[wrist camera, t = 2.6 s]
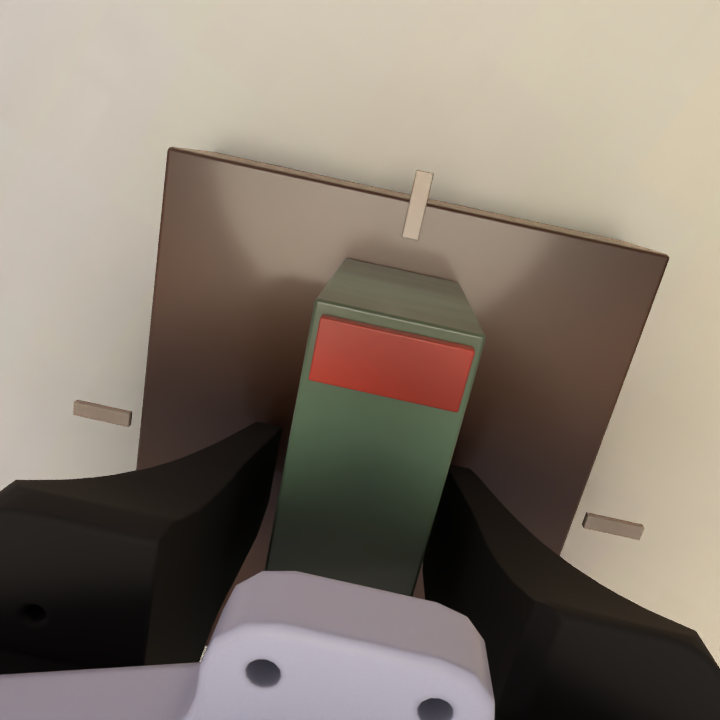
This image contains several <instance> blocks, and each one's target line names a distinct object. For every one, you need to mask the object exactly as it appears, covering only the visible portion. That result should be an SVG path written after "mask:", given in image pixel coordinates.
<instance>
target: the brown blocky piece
mask: <svg viewBox="0 0 720 720" xmlns="http://www.w3.org/2000/svg"><path fill="white" fill-rule="evenodd" d="M432 179H433V173H429V172H424V171H420V170H417V171H416V175H415V179H414V184H413V188H412V193H411V195H409V194H404V193H400V192H395V191H390V190H386V189H381V188H377V187H372V186H367V185H363V184H358V183H354V182H349V181H344V180H340V179H335V178H331V177H326V176H321V175H317V174H312V173H308V172H303V171H298V170H294V169H289V168H285V167H280V166H275V165H271V164H266V163H261V162H257V161H252V160H248V159H243V158H238V157H234V156H229V155H225V154H220V153H215V152H209V151H201V150H192V149H184V148H175V147H171V148H169V149H168V152H167V162H166V172H165V183H164V193H163V203H162V213H161V223H160V234H159V244H158V254H157V264H156V274H155V285H154V295H153V305H152V315H151V326H150V336H149V346H148V356H147V366H146V377H145V387H144V397H143V407H142V417H141V428H140V438H139V448H138V458H137V468H136V470H141V469H146V468H150V467H154V466H157V465H161V464H164V463H167V462H171V461H174V460H177V459H180V458H182V457H185V456H187V455H190V454H192V453H194V452H197V451H199V450H201V449H204V448H206V447H208V446H211V445H213V444H215V443H217V442H219V441H221V440H223V439H225V438H227V437H229V436H231V435H233V434H234V433H236V432H238V431H240V430H242V429H244V428H245V427H247V426H249V425H251V424H253V423H255V422H257V421H258V422H262V423H267V424H271V425H276V426H280V427H282V432H281V438H280V443H279V449H278V454H277V460H276V465H275V471H274V476H273V482H272V488H271V493H270V499H269V503H268V506H267V509H266V512H265V515H264V518H263V521H262V523H261V526H260V529H259V532H258V535H257V537H256V539H255V541H254V543H253V545H252V547H251V549H250V551H249V553H248V555H247V557H246V559H245V561H244V563H243V565H242V567H241V569H240V571H239V573H238V575H237V577H236V579H235V581H234V583H233V585H232V587H231V588H230V590H229V592H228V594H227V596H226V598H225V600H224V602H223V604H222V606H221V608H220V610H219V613H218V615H217V617H216V619H215V622H214V624H213V626H212V629H211V632H210V634H209V637H208V640H207V642H206V645H205V646H208V644H209V642H210V640H211V637H212V635H213V633H214V630H215V628H216V625H217V623H218V621H219V618H220V616H221V614H222V611H223V609H224V607H225V605H226V603H227V601H228V599H229V598H230V596H231V594H232V592H233V590H234V588H235V586H236V585H238V584H239V583H241V582H243V581H245V580H247V579H249V578H251V577H252V576H254V575H256V574H258V573H260V572H262V571H265V566H266V561H267V555H268V550H269V544H270V539H271V534H272V528H273V523H274V518H275V512H276V507H277V501H278V496H279V491H280V485H281V480H282V474H283V469H284V464H285V458H286V453H287V447H288V442H289V437H290V431H291V426H292V421H293V415H294V410H295V404H296V399H297V394H298V388H299V383H300V377H301V372H302V367H303V361H304V356H305V350H306V345H307V340H308V334H309V329H310V323H311V318H312V313H313V307H314V302H315V300H316V299H317V297H318V296H319V294H320V293H321V292H322V290H323V289H324V287H325V286H326V285H327V283H328V282H329V280H330V279H331V278H332V276H333V275H334V274H335V272H336V271H337V269H338V268H339V267H340V265H341V264H342V262H343V261H344V260H345V259H347V258H348V259H352V260H357V261H361V262H366V263H371V264H375V265H380V266H384V267H389V268H393V269H398V270H403V271H407V272H412V273H416V274H421V275H425V276H430V277H435V278H439V279H444V280H448V281H453V282H458V283H459V284H460V286H461V288H462V290H463V292H464V294H465V296H466V298H467V300H468V302H469V304H470V306H471V308H472V310H473V312H474V314H475V316H476V318H477V320H478V322H479V324H480V326H481V328H482V330H483V332H484V334H485V337H486V340H485V343H484V347H483V350H482V354H481V357H480V361H479V364H478V368H477V371H476V375H475V378H474V382H473V385H472V389H471V392H470V396H469V400H468V403H467V407H466V410H465V414H464V417H463V421H462V424H461V428H460V431H459V435H458V438H457V442H456V445H455V449H454V452H453V456H452V459H451V463H450V464H452V465H457V466H461V467H466V468H470V469H471V470H472V471H473V472H474V473H475V474H476V475H477V476H478V477H479V478H480V479H481V480H482V481H483V483H484V484H485V485H486V486H487V487H488V488H489V489H490V490H491V492H492V493H493V494H494V495H495V496H496V497H497V498H498V499H499V501H500V502H501V503H502V504H503V505H504V506H505V507H506V508H507V509H508V510H509V511H510V512H511V513H512V514H513V515H514V516H515V517H516V519H517V520H518V521H519V522H521V523H522V524H523V525H524V526H525V527H526V528H527V529H528V530H529V531H530V532H531V533H532V534H533V535H534V536H535V537H536V538H538V539H539V540H540V541H541V542H542V543H543V544H545V545H546V546H547V547H548V548H550V549H551V550H552V551H553V552H555V553H556V554H557V555H559V556H560V553H561V551H562V548H563V545H564V543H565V540H566V537H567V534H568V532H569V529H570V526H571V524H572V521H573V518H574V515H575V513H576V510H577V507H578V505H579V502H580V499H581V496H582V494H583V491H584V488H585V486H586V483H587V480H588V478H589V475H590V472H591V469H592V467H593V464H594V461H595V459H596V456H597V453H598V450H599V448H600V445H601V442H602V440H603V437H604V434H605V431H606V429H607V426H608V423H609V421H610V418H611V415H612V412H613V410H614V407H615V404H616V402H617V399H618V396H619V393H620V391H621V388H622V385H623V383H624V380H625V377H626V374H627V372H628V369H629V366H630V364H631V361H632V358H633V355H634V353H635V350H636V347H637V345H638V342H639V339H640V337H641V334H642V331H643V328H644V326H645V323H646V320H647V318H648V315H649V312H650V309H651V307H652V304H653V301H654V299H655V296H656V293H657V290H658V288H659V285H660V282H661V280H662V277H663V274H664V271H665V269H666V266H667V263H668V261H669V256H668V255H666V254H663V253H660V252H657V251H653V250H650V249H647V248H643V247H640V246H637V245H634V244H630V243H627V242H624V241H621V240H616V239H611V238H607V237H602V236H598V235H593V234H588V233H584V232H579V231H575V230H570V229H565V228H561V227H556V226H552V225H547V224H542V223H538V222H533V221H529V220H524V219H519V218H515V217H510V216H505V215H501V214H496V213H492V212H487V211H482V210H478V209H473V208H469V207H464V206H459V205H455V204H450V203H446V202H441V201H436V200H432V199H428V196H429V192H430V187H431V183H432ZM73 415H77V416H81V417H86V418H90V419H95V420H99V421H104V422H108V423H113V424H117V425H122V426H126V427H129V426H130V425H131V419H132V412H131V411H126V410H122V409H117V408H113V407H108V406H104V405H99V404H95V403H90V402H86V401H81V400H76V401H75V402H74V412H73ZM582 526H583V527H584V528H587V529H592V530H596V531H601V532H605V533H610V534H614V535H619V536H623V537H628V538H632V539H637V540H640V537H641V535H642V533H643V530H644V527H643V525H642V524H637V523H632V522H628V521H623V520H619V519H614V518H610V517H605V516H601V515H596V514H592V513H587V512H586V515H585V517H584V520H583V523H582ZM413 597H415V598H420V599H424V600H425V594H424V583H423V562H422V565H421V569H420V572H419V576H418V579H417V583H416V586H415V590H414V593H413Z"/></svg>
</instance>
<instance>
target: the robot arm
mask: <svg viewBox="0 0 720 720" xmlns="http://www.w3.org/2000/svg"><path fill="white" fill-rule="evenodd" d="M281 432H282V427H280V426H276V425H271V424H267V423H262V422H258V421H257V422H255V423H253V424H251V425H249V426H247V427H245V428H244V429H242V430H240V431H238V432H236V433H234V434H233V435H231V436H229V437H227V438H225V439H223V440H221V441H219V442H217V443H215V444H213V445H211V446H208V447H206V448H204V449H201V450H199V451H197V452H194V453H192V454H190V455H187V456H185V457H182V458H180V459H177V460H174V461H171V462H167V463H164V464H161V465H157V466H154V467H150V468H146V469H141V470H136V471H131V472H126V473H121V474H116V475H110V476H102V477H94V478H83V479H69V480H15V481H14V482H12V483H11V484H9V485H8V486H7V487H5V488H4V489H3V490H2V491H0V720H720V668H719V666H718V665H717V663H716V662H715V660H714V659H713V657H712V655H711V654H710V652H709V651H708V649H707V648H706V646H705V644H704V643H703V641H702V640H701V638H700V637H699V635H698V634H697V632H696V631H694V630H692V629H690V628H688V627H685V626H683V625H681V624H678V623H676V622H674V621H672V620H669V619H667V618H665V617H663V616H660V615H658V614H656V613H654V612H651V611H649V610H647V609H645V608H643V607H641V606H639V605H637V604H635V603H633V602H631V601H630V600H628V599H626V598H624V597H622V596H620V595H618V594H616V593H615V592H613V591H611V590H610V589H608V588H606V587H604V586H603V585H601V584H599V583H598V582H596V581H595V580H593V579H592V578H590V577H588V576H587V575H585V574H584V573H582V572H581V571H579V570H578V569H576V568H575V567H573V566H572V565H571V564H569V563H568V562H566V561H565V560H564V559H562V558H561V557H560V556H559V555H557V554H556V553H555V552H553V551H552V550H551V549H550V548H548V547H547V546H546V545H545V544H543V543H542V542H541V541H540V540H539V539H538V538H536V537H535V536H534V535H533V534H532V533H531V532H530V531H529V530H528V529H527V528H526V527H525V526H524V525H523V524H522V523H521V522H519V521H518V520H517V519H516V517H515V516H514V515H513V514H512V513H511V512H510V511H509V510H508V509H507V508H506V507H505V506H504V505H503V504H502V503H501V502H500V501H499V499H498V498H497V497H496V496H495V495H494V494H493V493H492V492H491V490H490V489H489V488H488V487H487V486H486V485H485V484H484V483H483V481H482V480H481V479H480V478H479V477H478V476H477V475H476V474H475V473H474V472H473V471H472V470H471V469H470V468H466V467H461V466H457V465H452V464H450V466H449V470H448V474H447V477H446V481H445V484H444V488H443V491H442V495H441V498H440V502H439V505H438V509H437V512H436V516H435V519H434V523H433V526H432V530H431V533H430V537H429V540H428V544H427V547H426V551H425V555H424V558H423V583H424V594H425V600H424V599H420V598H415V597H411V596H406V595H402V594H397V593H393V592H388V591H384V590H379V589H375V588H370V587H366V586H361V585H357V584H352V583H348V582H343V581H339V580H334V579H330V578H325V577H321V576H316V575H312V574H307V573H303V572H298V571H262V572H260V573H258V574H256V575H254V576H252V577H251V578H249V579H247V580H245V581H243V582H241V583H239V584H238V585H236V586H235V588H234V590H233V592H232V594H231V596H230V598H229V599H228V601H227V603H226V605H225V607H224V609H223V611H222V614H221V616H220V618H219V621H218V623H217V625H216V628H215V630H214V633H213V635H212V637H211V640H210V642H209V644H208V647H207V649H206V652H205V654H204V656H203V659H202V661H201V662H199V661H200V658H201V655H202V653H203V650H204V648H205V645H206V642H207V640H208V637H209V634H210V632H211V629H212V626H213V624H214V622H215V619H216V617H217V615H218V613H219V610H220V608H221V606H222V604H223V602H224V600H225V598H226V596H227V594H228V592H229V590H230V588H231V587H232V585H233V583H234V581H235V579H236V577H237V575H238V573H239V571H240V569H241V567H242V565H243V563H244V561H245V559H246V557H247V555H248V553H249V551H250V549H251V547H252V545H253V543H254V541H255V539H256V537H257V535H258V532H259V529H260V526H261V523H262V521H263V518H264V515H265V512H266V509H267V506H268V503H269V499H270V493H271V488H272V482H273V476H274V471H275V465H276V460H277V454H278V449H279V443H280V438H281Z"/></svg>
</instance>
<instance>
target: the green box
mask: <svg viewBox="0 0 720 720" xmlns="http://www.w3.org/2000/svg"><path fill="white" fill-rule="evenodd" d="M485 340H486V337H485V334H484V332H483V330H482V328H481V326H480V324H479V322H478V320H477V318H476V316H475V314H474V312H473V310H472V308H471V306H470V304H469V302H468V300H467V298H466V296H465V294H464V292H463V290H462V288H461V286H460V284H459V283H458V282H453V281H448V280H444V279H439V278H435V277H430V276H425V275H421V274H416V273H412V272H407V271H403V270H398V269H393V268H389V267H384V266H380V265H375V264H371V263H366V262H361V261H357V260H352V259H348V258H347V259H345V260H344V261H343V262H342V264H341V265H340V267H339V268H338V269H337V271H336V272H335V274H334V275H333V276H332V278H331V279H330V280H329V282H328V283H327V285H326V286H325V287H324V289H323V290H322V292H321V293H320V294H319V296H318V297H317V299H316V300H315V302H314V307H313V313H312V318H311V323H310V329H309V334H308V340H307V345H306V350H305V356H304V361H303V367H302V372H301V377H300V383H299V388H298V394H297V399H296V404H295V410H294V415H293V421H292V426H291V431H290V437H289V442H288V447H287V453H286V458H285V464H284V469H283V474H282V480H281V485H280V491H279V496H278V501H277V507H276V512H275V518H274V523H273V528H272V534H271V539H270V544H269V550H268V555H267V561H266V566H265V571H298V572H303V573H307V574H312V575H316V576H321V577H325V578H330V579H334V580H339V581H343V582H348V583H352V584H357V585H361V586H366V587H370V588H375V589H379V590H384V591H388V592H393V593H397V594H402V595H406V596H411V597H413V593H414V590H415V586H416V583H417V579H418V576H419V572H420V569H421V565H422V562H423V558H424V555H425V551H426V547H427V544H428V540H429V537H430V533H431V530H432V526H433V523H434V519H435V516H436V512H437V509H438V505H439V502H440V498H441V495H442V491H443V488H444V484H445V481H446V477H447V474H448V470H449V466H450V463H451V459H452V456H453V452H454V449H455V445H456V442H457V438H458V435H459V431H460V428H461V424H462V421H463V417H464V414H465V410H466V407H467V403H468V400H469V396H470V392H471V389H472V385H473V382H474V378H475V375H476V371H477V368H478V364H479V361H480V357H481V354H482V350H483V347H484V343H485Z"/></svg>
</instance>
